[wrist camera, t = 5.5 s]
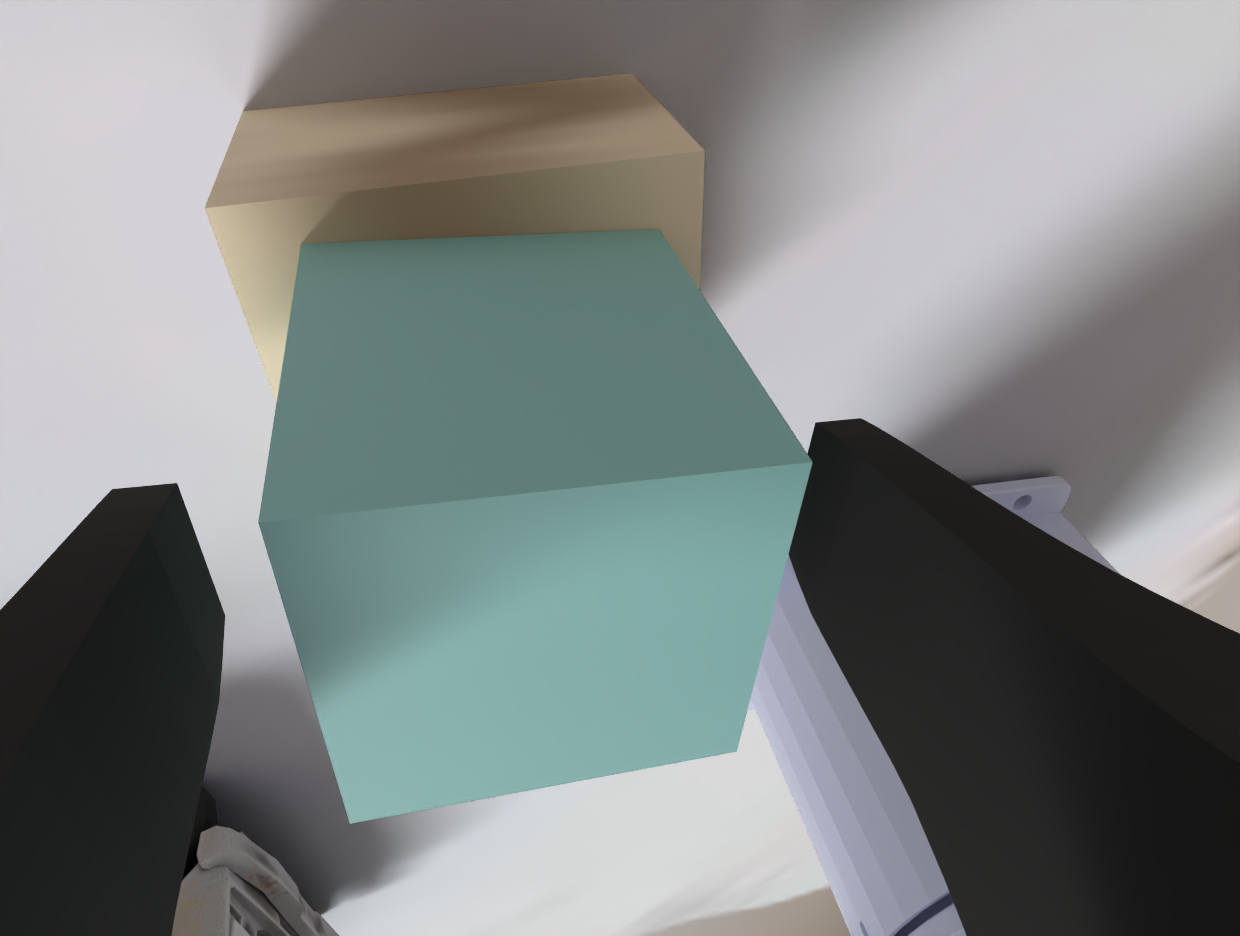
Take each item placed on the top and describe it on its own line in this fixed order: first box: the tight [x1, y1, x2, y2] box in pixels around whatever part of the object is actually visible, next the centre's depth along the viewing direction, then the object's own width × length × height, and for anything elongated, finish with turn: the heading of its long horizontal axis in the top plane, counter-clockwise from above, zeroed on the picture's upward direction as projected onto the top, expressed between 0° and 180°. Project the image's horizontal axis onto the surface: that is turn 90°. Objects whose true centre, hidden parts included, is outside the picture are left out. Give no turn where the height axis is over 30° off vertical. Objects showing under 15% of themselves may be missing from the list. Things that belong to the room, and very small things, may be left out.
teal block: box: [258, 229, 812, 824], centre depth 10 cm, size 4×4×5 cm
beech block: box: [205, 73, 705, 403], centre depth 13 cm, size 6×6×4 cm
